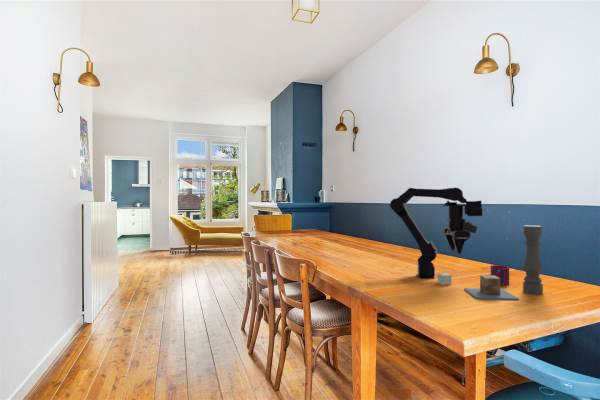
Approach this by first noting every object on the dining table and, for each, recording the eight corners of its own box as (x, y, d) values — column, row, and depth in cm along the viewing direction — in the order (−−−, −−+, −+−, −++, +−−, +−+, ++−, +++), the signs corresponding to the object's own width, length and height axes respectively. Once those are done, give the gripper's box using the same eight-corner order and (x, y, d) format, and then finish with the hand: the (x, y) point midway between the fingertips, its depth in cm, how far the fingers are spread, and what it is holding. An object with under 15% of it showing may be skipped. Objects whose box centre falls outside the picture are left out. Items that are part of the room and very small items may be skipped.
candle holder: (539, 290, 130) (539, 225, 130) (545, 295, 124) (545, 226, 124) (520, 289, 132) (520, 225, 132) (525, 293, 126) (525, 226, 126)
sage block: (441, 285, 140) (441, 275, 140) (437, 282, 144) (437, 273, 144) (451, 285, 140) (451, 275, 140) (446, 282, 144) (446, 273, 144)
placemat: (475, 298, 120) (475, 297, 120) (464, 289, 132) (464, 288, 132) (518, 300, 118) (518, 298, 118) (503, 290, 130) (503, 289, 130)
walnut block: (485, 294, 123) (485, 278, 123) (480, 291, 128) (480, 275, 128) (500, 295, 122) (500, 278, 122) (494, 291, 127) (494, 275, 127)
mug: (510, 282, 142) (510, 266, 142) (505, 287, 135) (505, 270, 135) (493, 280, 147) (492, 264, 147) (486, 284, 139) (486, 268, 139)
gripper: (483, 217, 138) (484, 255, 138) (467, 215, 157) (468, 249, 157) (454, 217, 140) (455, 255, 140) (442, 215, 158) (442, 248, 158)
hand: (456, 252), depth 149 cm, fingers open, 9 cm apart
